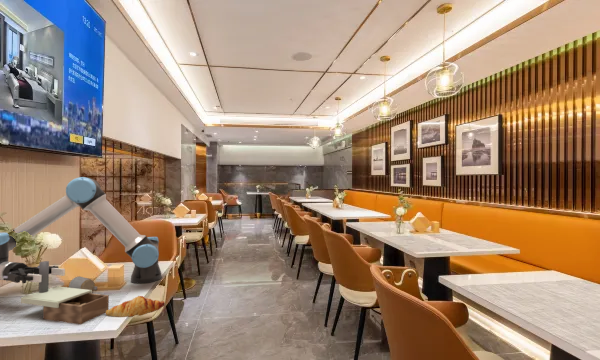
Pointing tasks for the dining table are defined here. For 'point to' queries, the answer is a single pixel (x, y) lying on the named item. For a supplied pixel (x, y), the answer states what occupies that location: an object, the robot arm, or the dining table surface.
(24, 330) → the dining table surface
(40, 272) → the lid
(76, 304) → the oak block
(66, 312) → the brown wooden box
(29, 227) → the robot arm
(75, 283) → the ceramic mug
